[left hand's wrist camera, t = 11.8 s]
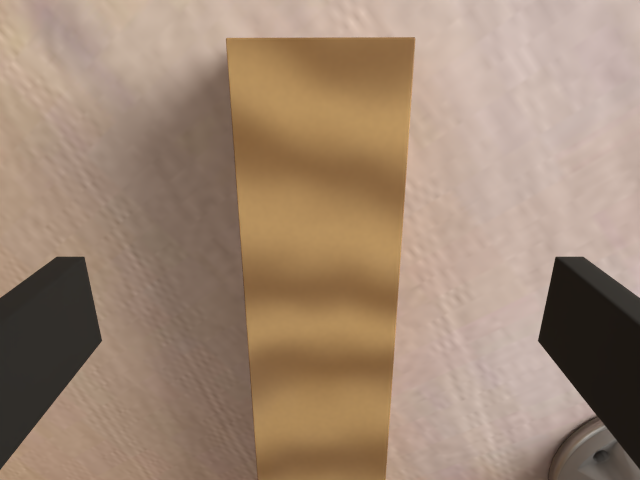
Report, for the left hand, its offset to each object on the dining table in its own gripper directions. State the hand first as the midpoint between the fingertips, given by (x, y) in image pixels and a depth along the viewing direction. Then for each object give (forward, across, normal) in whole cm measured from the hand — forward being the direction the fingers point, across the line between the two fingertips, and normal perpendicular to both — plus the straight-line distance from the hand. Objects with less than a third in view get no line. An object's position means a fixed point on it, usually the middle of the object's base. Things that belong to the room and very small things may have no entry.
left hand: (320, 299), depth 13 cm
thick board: (+21, 0, -22) cm, 30 cm away
